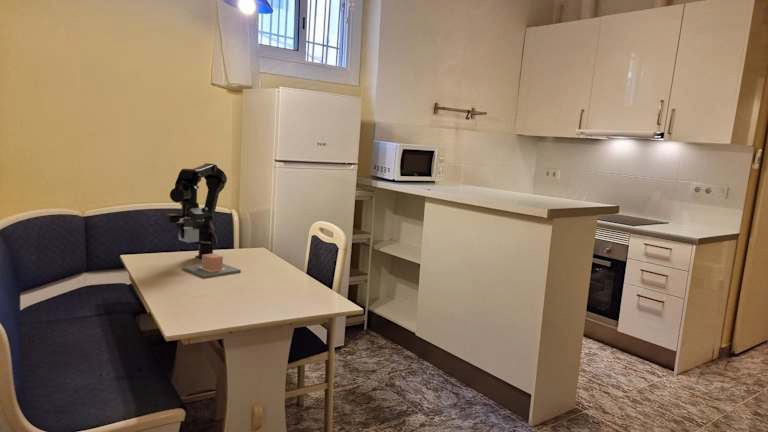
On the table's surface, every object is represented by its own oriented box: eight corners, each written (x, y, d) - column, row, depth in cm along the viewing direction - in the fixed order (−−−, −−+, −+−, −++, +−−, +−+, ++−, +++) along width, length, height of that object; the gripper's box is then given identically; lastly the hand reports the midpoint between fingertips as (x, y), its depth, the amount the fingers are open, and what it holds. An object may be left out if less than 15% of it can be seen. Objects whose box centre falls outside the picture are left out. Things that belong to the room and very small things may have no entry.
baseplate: (182, 269, 203) (182, 266, 203) (218, 264, 215) (218, 261, 215) (204, 278, 193) (204, 275, 193) (240, 272, 205) (240, 269, 205)
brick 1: (178, 239, 209) (178, 227, 208) (190, 238, 213) (190, 226, 212) (187, 242, 204) (187, 230, 204) (198, 241, 208) (199, 229, 207)
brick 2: (201, 266, 204) (202, 254, 203) (213, 265, 208) (213, 253, 207) (211, 270, 200) (211, 258, 199) (222, 268, 203) (222, 256, 203)
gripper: (177, 203, 194) (176, 243, 196) (220, 201, 208) (219, 239, 210) (163, 199, 201) (162, 238, 203) (206, 198, 215) (205, 234, 217)
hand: (188, 238), depth 208 cm, fingers closed on brick 1, 5 cm apart
